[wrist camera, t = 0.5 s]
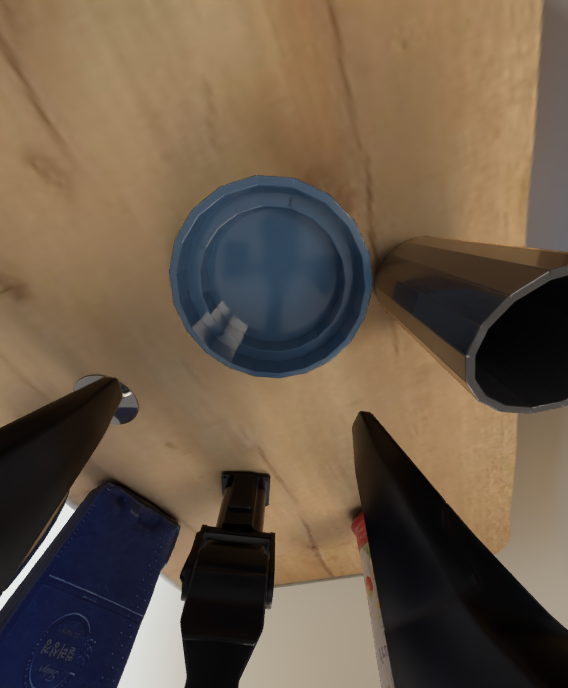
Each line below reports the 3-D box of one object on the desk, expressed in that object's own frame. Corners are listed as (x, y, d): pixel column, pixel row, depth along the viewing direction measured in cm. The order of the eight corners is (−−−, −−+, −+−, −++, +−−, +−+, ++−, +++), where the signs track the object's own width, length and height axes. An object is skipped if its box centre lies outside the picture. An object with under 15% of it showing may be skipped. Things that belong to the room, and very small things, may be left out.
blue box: (187, 521, 39) (99, 778, 21) (165, 531, 40) (64, 779, 22) (112, 472, 34) (-89, 755, 16) (90, 485, 35) (-118, 758, 17)
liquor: (362, 534, 39) (487, 1092, 14) (339, 512, 36) (441, 1145, 12) (405, 520, 37) (642, 1145, 12) (384, 495, 34) (630, 1227, 9)
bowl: (340, 356, 24) (350, 383, 20) (201, 346, 24) (183, 371, 20) (373, 193, 18) (396, 185, 14) (184, 178, 18) (153, 167, 14)
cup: (440, 319, 22) (587, 418, 11) (366, 314, 22) (441, 408, 11) (471, 239, 19) (716, 265, 8) (385, 233, 19) (515, 250, 8)
